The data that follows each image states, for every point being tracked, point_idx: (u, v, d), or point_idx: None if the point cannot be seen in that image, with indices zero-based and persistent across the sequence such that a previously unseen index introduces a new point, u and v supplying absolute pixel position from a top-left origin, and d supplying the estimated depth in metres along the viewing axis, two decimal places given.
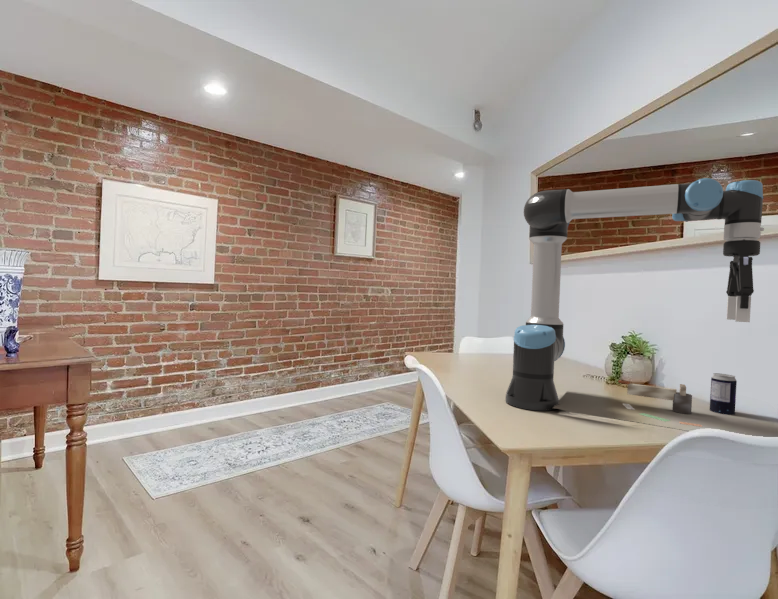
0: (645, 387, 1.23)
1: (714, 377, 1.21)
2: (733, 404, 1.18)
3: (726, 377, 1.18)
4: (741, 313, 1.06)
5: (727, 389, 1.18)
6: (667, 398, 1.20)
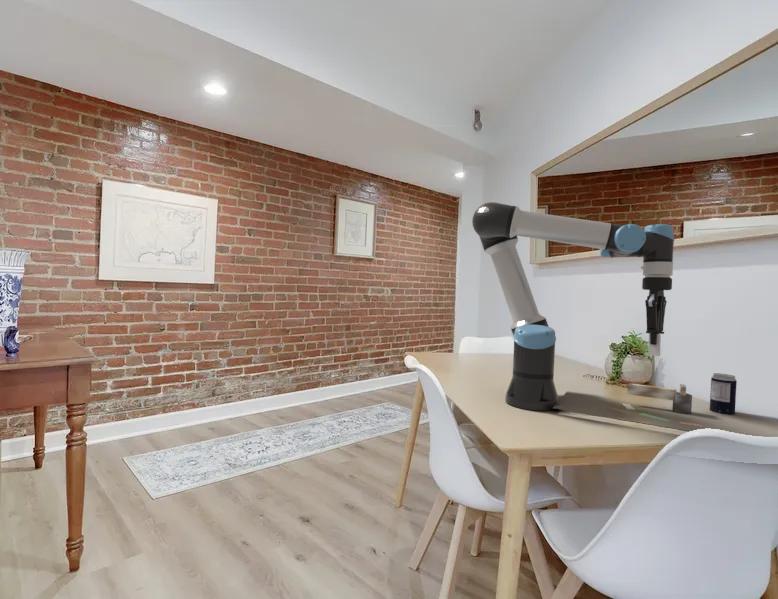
0: (645, 387, 1.23)
1: (714, 377, 1.21)
2: (733, 404, 1.18)
3: (726, 377, 1.18)
4: None
5: (727, 389, 1.18)
6: (667, 398, 1.20)
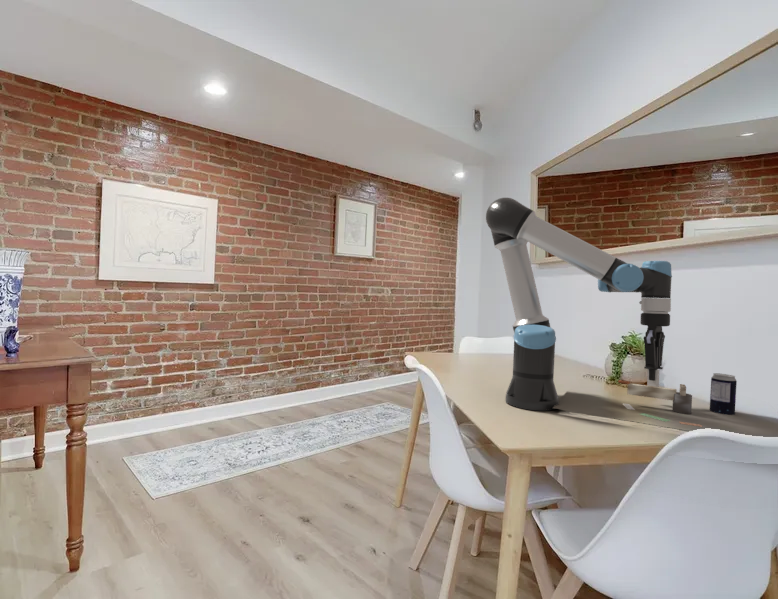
0: (645, 387, 1.23)
1: (714, 377, 1.21)
2: (733, 404, 1.18)
3: (726, 377, 1.18)
4: None
5: (727, 389, 1.18)
6: (667, 398, 1.20)
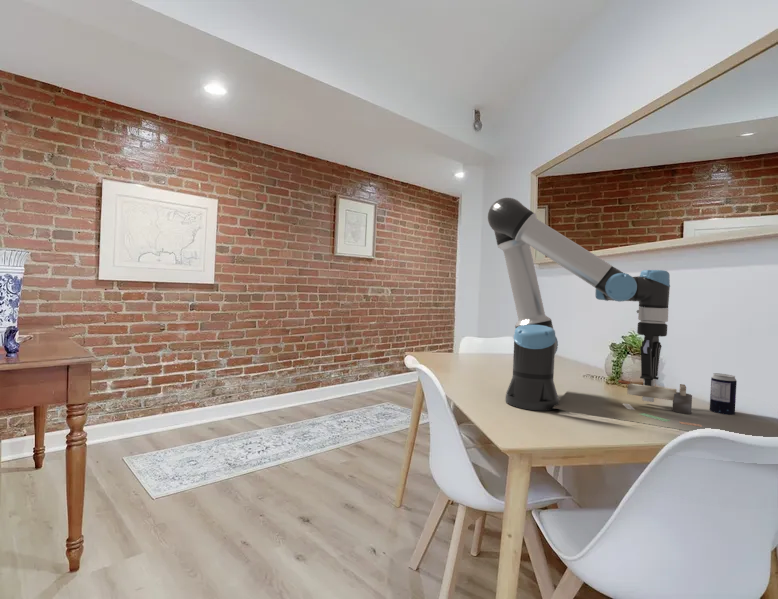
0: (645, 387, 1.23)
1: (714, 377, 1.21)
2: (733, 404, 1.18)
3: (726, 377, 1.18)
4: None
5: (727, 389, 1.18)
6: (667, 398, 1.20)
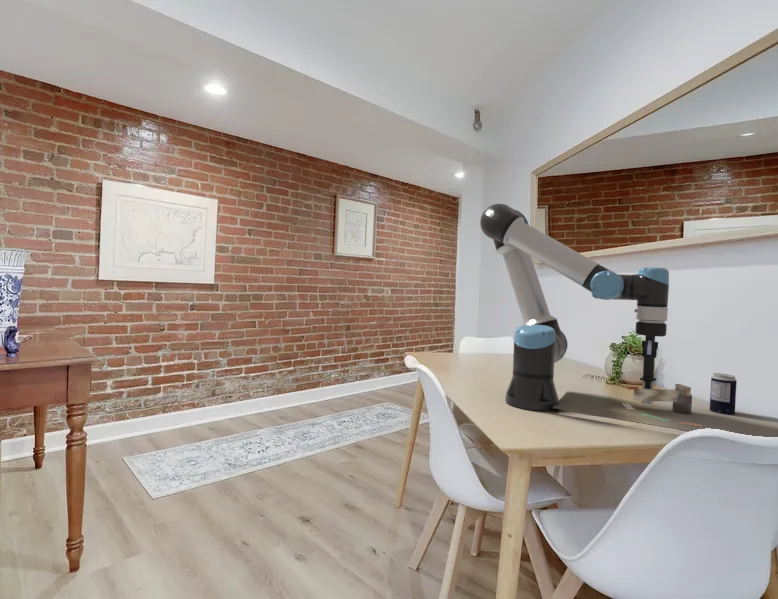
0: (653, 391, 1.18)
1: (714, 377, 1.21)
2: (733, 404, 1.18)
3: (726, 377, 1.18)
4: None
5: (727, 389, 1.18)
6: (672, 400, 1.18)
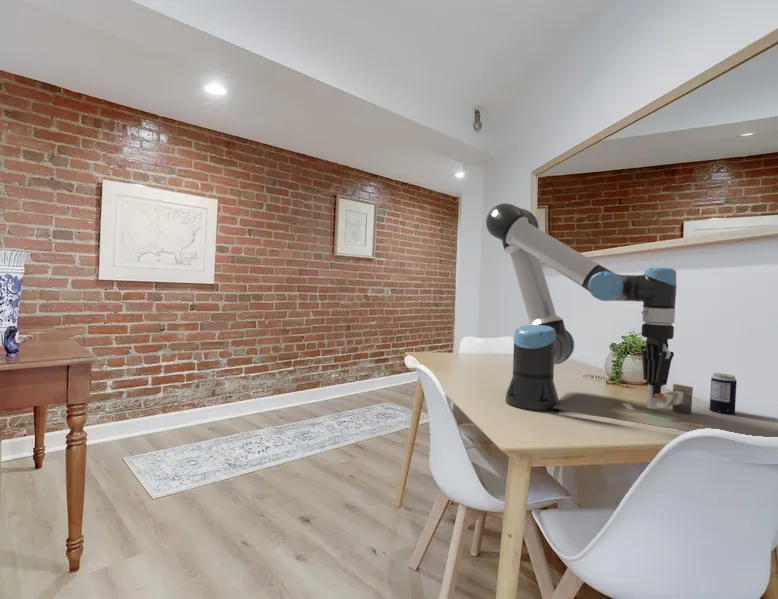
0: (672, 395, 1.13)
1: (714, 377, 1.21)
2: (733, 404, 1.18)
3: (726, 377, 1.18)
4: None
5: (727, 389, 1.18)
6: (680, 402, 1.16)
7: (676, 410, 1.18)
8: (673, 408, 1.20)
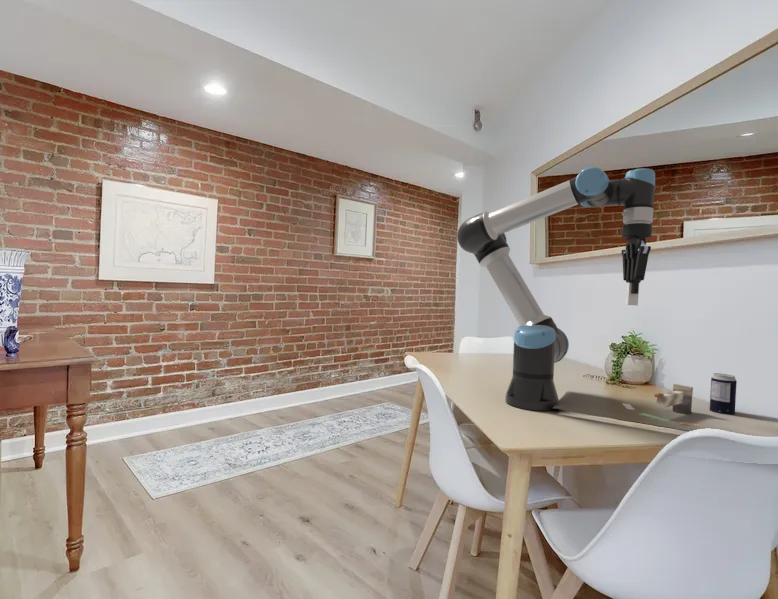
0: (672, 395, 1.13)
1: (714, 377, 1.21)
2: (733, 404, 1.18)
3: (726, 377, 1.18)
4: None
5: (727, 389, 1.18)
6: (680, 402, 1.16)
7: (676, 410, 1.18)
8: (673, 408, 1.20)
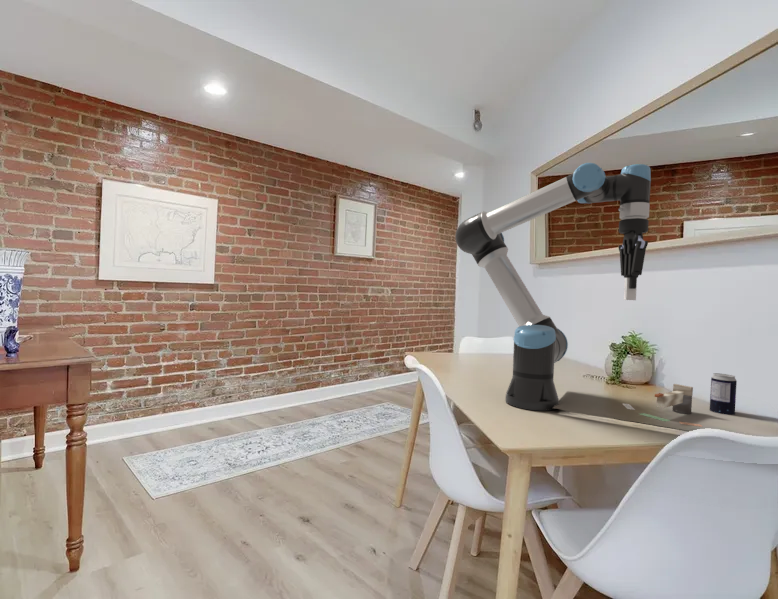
0: (672, 395, 1.13)
1: (714, 377, 1.21)
2: (733, 404, 1.18)
3: (726, 377, 1.18)
4: None
5: (727, 389, 1.18)
6: (680, 402, 1.16)
7: (676, 410, 1.18)
8: (673, 408, 1.20)
